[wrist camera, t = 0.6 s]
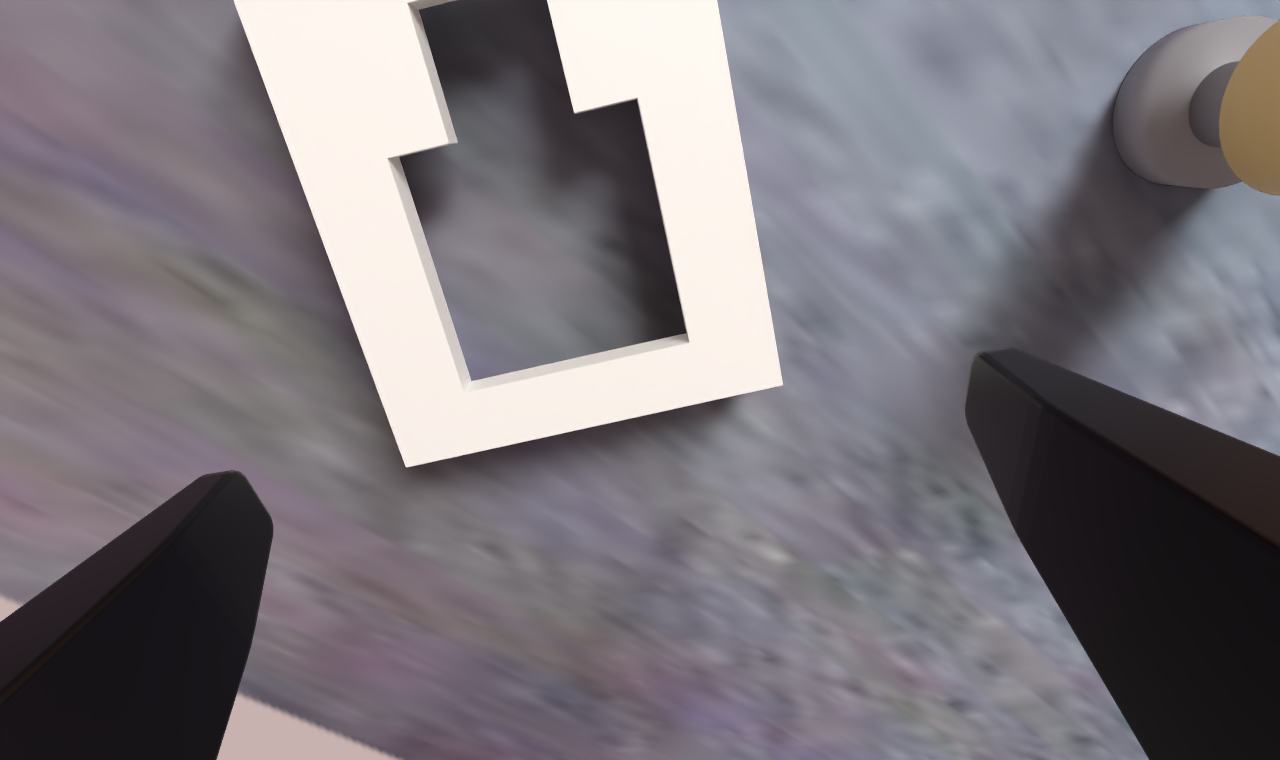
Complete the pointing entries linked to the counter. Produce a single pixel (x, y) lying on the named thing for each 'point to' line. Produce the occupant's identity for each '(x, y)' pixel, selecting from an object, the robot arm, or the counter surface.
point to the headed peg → (1205, 107)
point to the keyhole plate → (419, 120)
